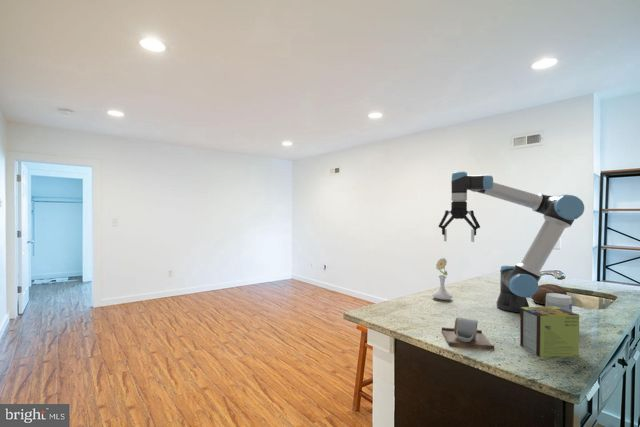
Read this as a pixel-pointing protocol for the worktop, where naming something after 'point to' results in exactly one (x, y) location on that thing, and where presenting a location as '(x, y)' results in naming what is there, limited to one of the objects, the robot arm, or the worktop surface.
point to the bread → (547, 288)
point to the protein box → (549, 331)
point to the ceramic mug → (465, 329)
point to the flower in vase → (442, 282)
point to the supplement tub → (559, 301)
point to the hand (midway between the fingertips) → (458, 241)
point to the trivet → (454, 341)
